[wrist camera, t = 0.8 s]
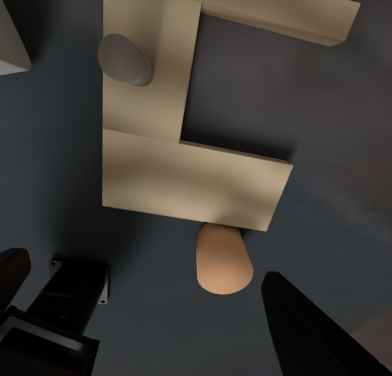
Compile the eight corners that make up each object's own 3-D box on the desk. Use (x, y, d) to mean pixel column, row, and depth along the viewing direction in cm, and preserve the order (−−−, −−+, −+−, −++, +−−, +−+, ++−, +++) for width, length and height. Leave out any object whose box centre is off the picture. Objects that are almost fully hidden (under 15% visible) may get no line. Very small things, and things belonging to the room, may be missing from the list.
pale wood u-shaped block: (260, 222, 21) (285, 264, 16) (108, 197, 20) (76, 235, 14) (342, 13, 14) (440, -43, 8) (114, -52, 12) (53, -172, 7)
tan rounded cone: (233, 258, 23) (243, 296, 19) (192, 252, 23) (192, 290, 18) (246, 223, 21) (260, 257, 17) (200, 216, 21) (203, 249, 16)
